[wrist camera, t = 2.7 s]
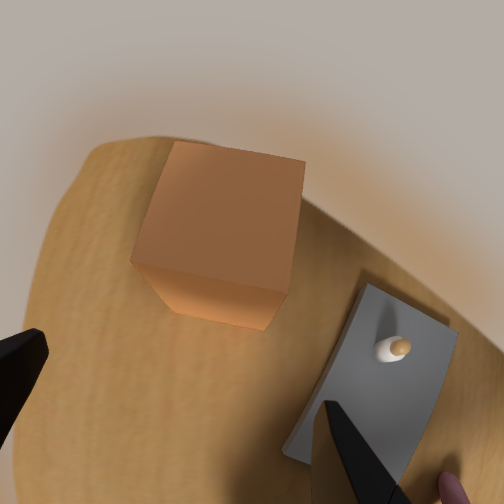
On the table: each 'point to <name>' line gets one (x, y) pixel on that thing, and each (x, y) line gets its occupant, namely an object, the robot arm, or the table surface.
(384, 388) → the plate
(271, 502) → the table surface
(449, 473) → the video game controller
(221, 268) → the orange brown rectangular block
